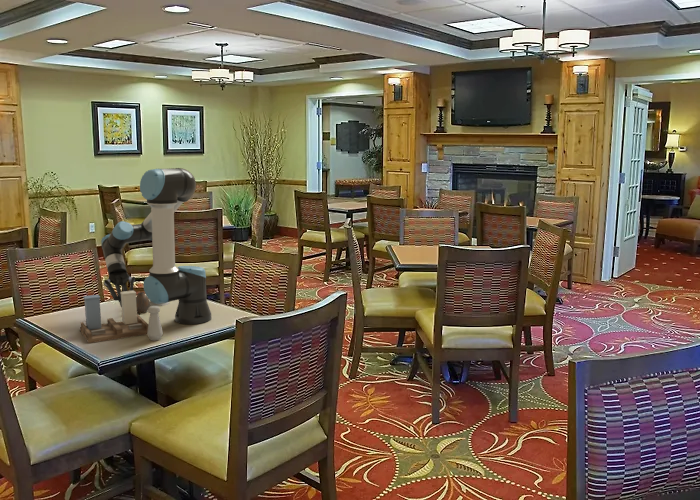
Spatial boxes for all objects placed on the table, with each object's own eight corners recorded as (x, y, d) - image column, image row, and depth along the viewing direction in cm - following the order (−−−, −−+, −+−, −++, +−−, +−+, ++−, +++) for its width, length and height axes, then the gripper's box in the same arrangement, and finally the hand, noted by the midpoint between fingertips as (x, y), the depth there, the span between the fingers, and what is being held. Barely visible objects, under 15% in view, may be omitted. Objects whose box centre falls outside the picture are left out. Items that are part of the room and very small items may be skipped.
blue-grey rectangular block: (85, 327, 250) (83, 296, 248) (99, 325, 253) (97, 294, 250) (87, 330, 246) (85, 298, 244) (102, 328, 249) (100, 296, 247)
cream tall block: (121, 322, 257) (120, 291, 255) (135, 320, 260) (133, 290, 258) (124, 324, 254) (122, 294, 251) (138, 322, 256) (136, 292, 254)
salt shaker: (154, 342, 237) (152, 309, 235) (144, 339, 240) (142, 307, 238) (166, 338, 242) (164, 305, 240) (156, 335, 245) (154, 303, 243)
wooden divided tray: (80, 330, 251) (79, 322, 250) (138, 322, 263) (138, 314, 262) (88, 343, 236) (88, 334, 235) (150, 333, 248) (149, 325, 247)
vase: (153, 311, 280) (152, 292, 279) (141, 314, 275) (139, 295, 273) (143, 308, 284) (142, 290, 283) (130, 312, 278) (129, 293, 277)
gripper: (130, 270, 276) (142, 315, 265) (99, 273, 269) (110, 319, 258) (132, 260, 271) (144, 305, 260) (101, 263, 264) (111, 310, 253)
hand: (127, 312), depth 259 cm, fingers closed
